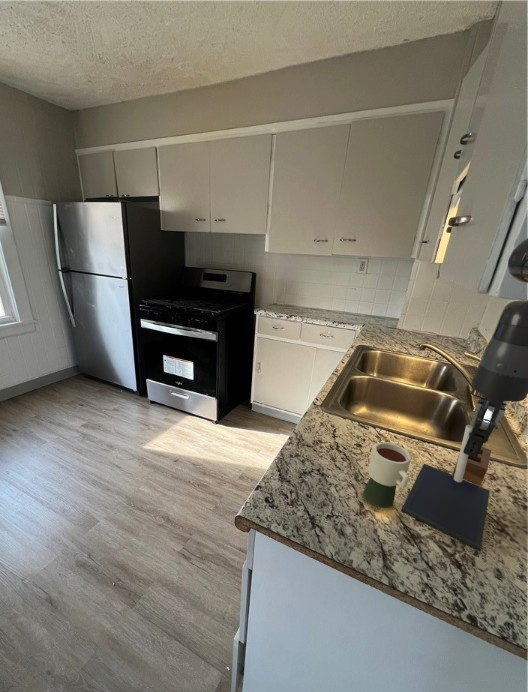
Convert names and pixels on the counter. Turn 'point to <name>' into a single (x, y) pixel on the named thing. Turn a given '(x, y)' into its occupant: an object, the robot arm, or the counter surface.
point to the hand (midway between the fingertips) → (470, 451)
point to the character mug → (386, 473)
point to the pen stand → (476, 466)
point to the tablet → (448, 505)
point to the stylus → (462, 457)
